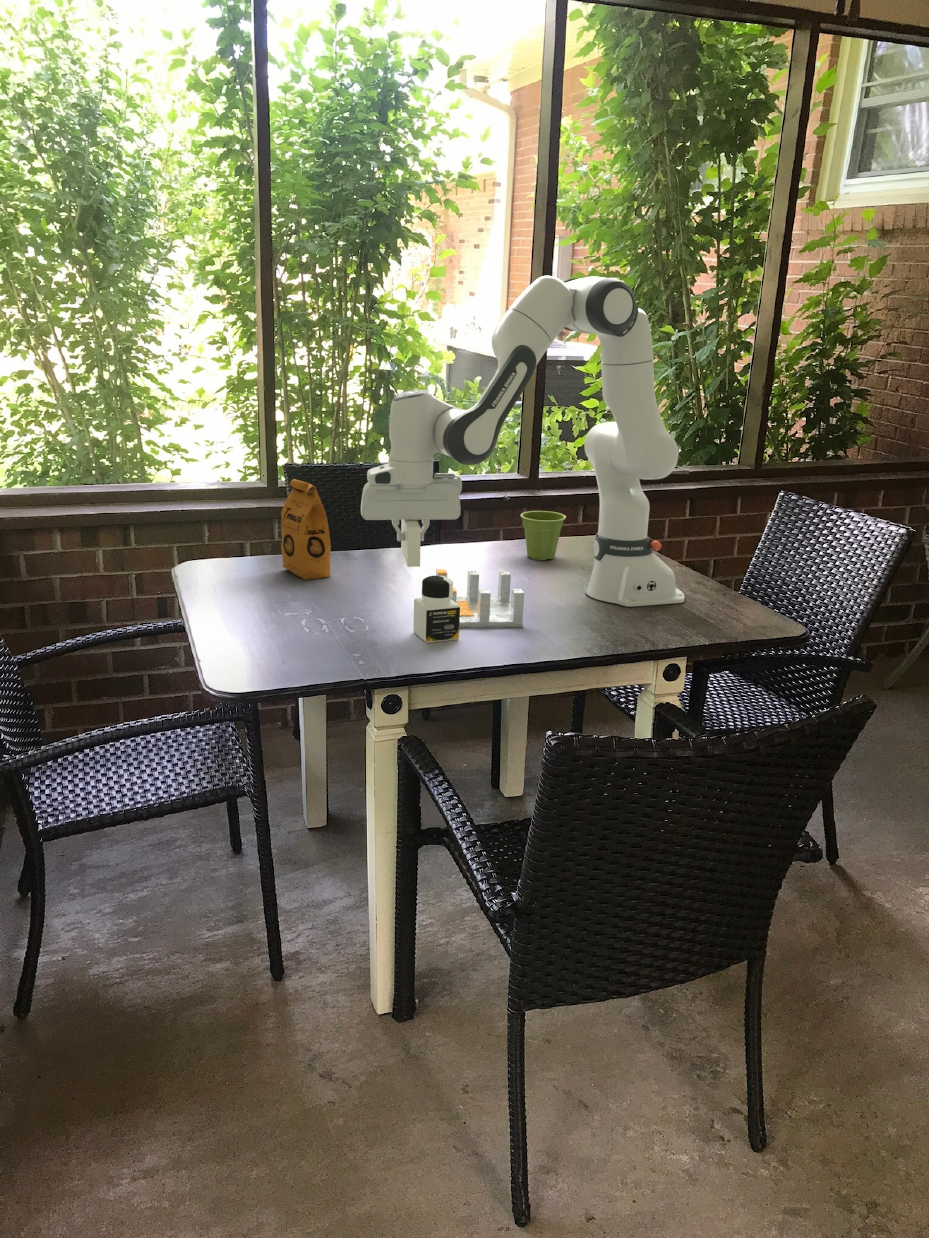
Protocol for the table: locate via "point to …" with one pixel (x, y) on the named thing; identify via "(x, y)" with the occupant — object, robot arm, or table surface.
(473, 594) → the panel rack
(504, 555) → the table surface
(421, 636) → the medicine bottle
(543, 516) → the plant pot
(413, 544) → the panel
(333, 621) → the table surface
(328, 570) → the coffee package
